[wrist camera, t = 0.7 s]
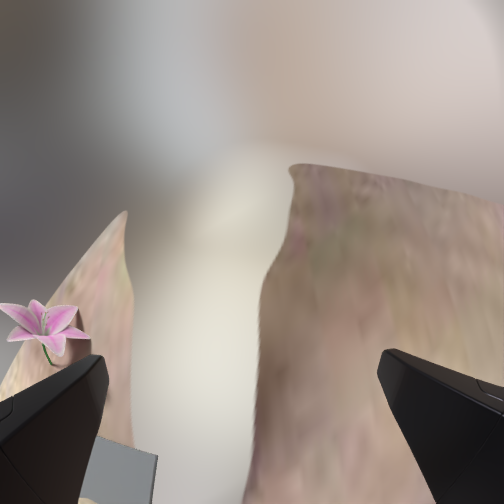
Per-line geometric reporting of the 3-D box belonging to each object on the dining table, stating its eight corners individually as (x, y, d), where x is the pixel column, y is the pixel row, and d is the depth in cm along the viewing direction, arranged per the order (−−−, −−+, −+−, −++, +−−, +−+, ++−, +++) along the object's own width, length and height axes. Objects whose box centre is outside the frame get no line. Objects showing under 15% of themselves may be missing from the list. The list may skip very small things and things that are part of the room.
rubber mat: (143, 612, 8) (141, 613, 8) (16, 524, 15) (14, 523, 14) (158, 455, 21) (155, 455, 20) (30, 404, 27) (27, 403, 27)
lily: (96, 392, 27) (64, 326, 23) (16, 396, 24) (-22, 334, 20) (102, 329, 38) (83, 269, 34) (35, 337, 34) (11, 281, 30)
